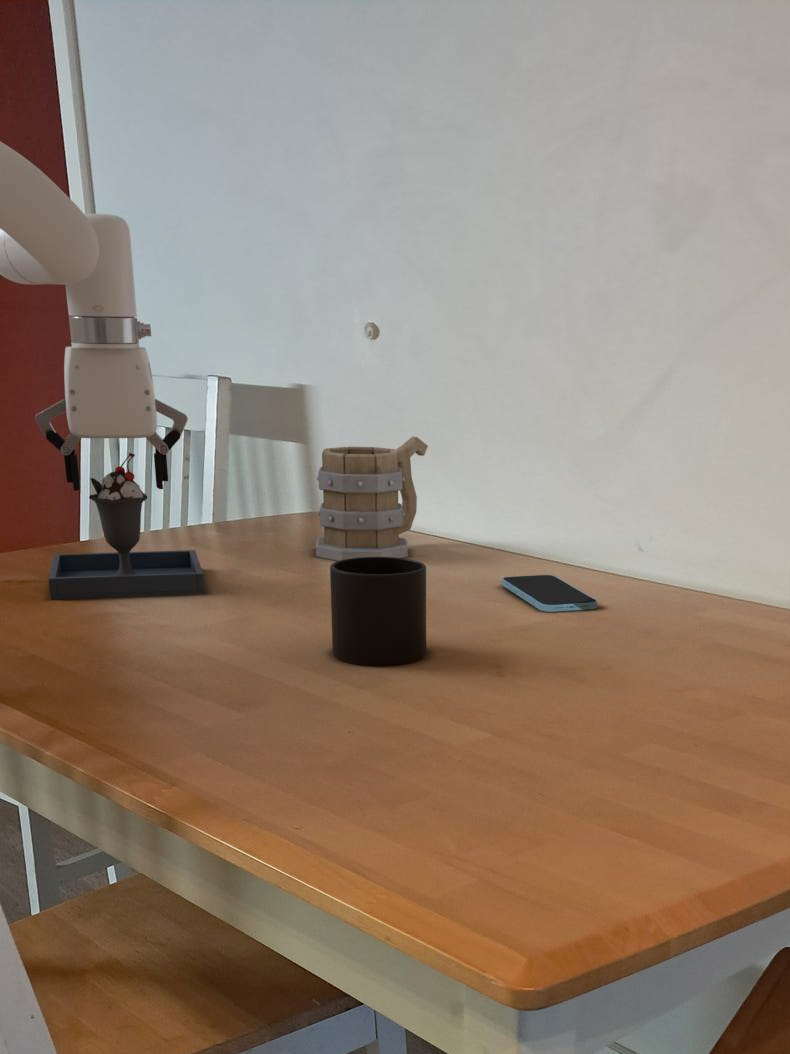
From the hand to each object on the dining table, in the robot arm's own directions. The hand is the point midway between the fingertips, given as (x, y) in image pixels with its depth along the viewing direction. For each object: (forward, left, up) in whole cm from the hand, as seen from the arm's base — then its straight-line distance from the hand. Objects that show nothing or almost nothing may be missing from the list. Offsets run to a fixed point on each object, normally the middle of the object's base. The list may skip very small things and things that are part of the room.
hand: (118, 488), depth 153 cm
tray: (0, 0, -12) cm, 12 cm away
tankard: (+35, +17, -12) cm, 41 cm away
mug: (+24, -38, -12) cm, 46 cm away
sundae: (0, 0, -11) cm, 11 cm away
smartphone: (+49, -17, -12) cm, 53 cm away
